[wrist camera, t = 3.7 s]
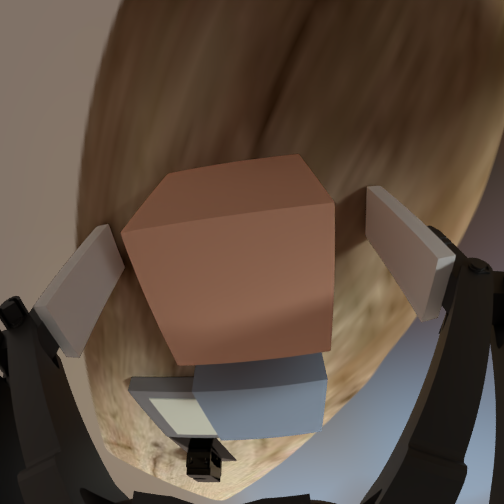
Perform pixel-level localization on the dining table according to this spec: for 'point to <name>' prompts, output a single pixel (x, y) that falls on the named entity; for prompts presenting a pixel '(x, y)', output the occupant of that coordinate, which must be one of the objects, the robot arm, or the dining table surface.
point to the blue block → (263, 396)
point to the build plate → (204, 457)
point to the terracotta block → (238, 260)
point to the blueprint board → (172, 406)
